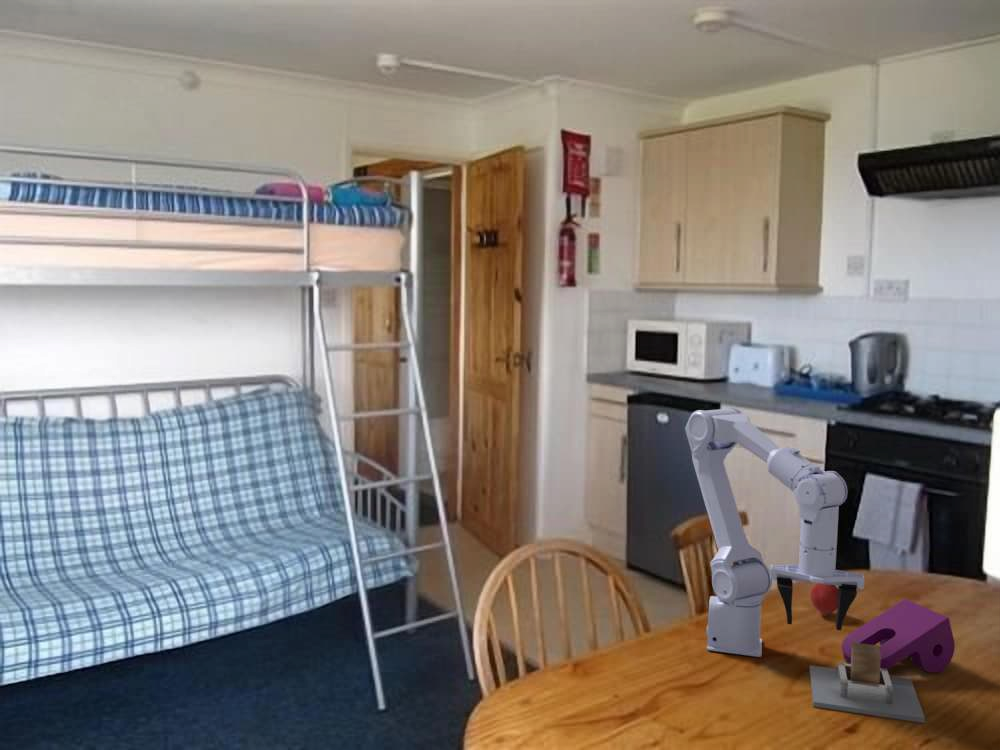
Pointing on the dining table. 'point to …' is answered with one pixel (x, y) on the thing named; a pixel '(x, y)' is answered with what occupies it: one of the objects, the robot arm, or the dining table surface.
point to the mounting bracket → (907, 637)
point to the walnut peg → (865, 663)
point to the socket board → (865, 694)
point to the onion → (824, 598)
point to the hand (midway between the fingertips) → (813, 625)
